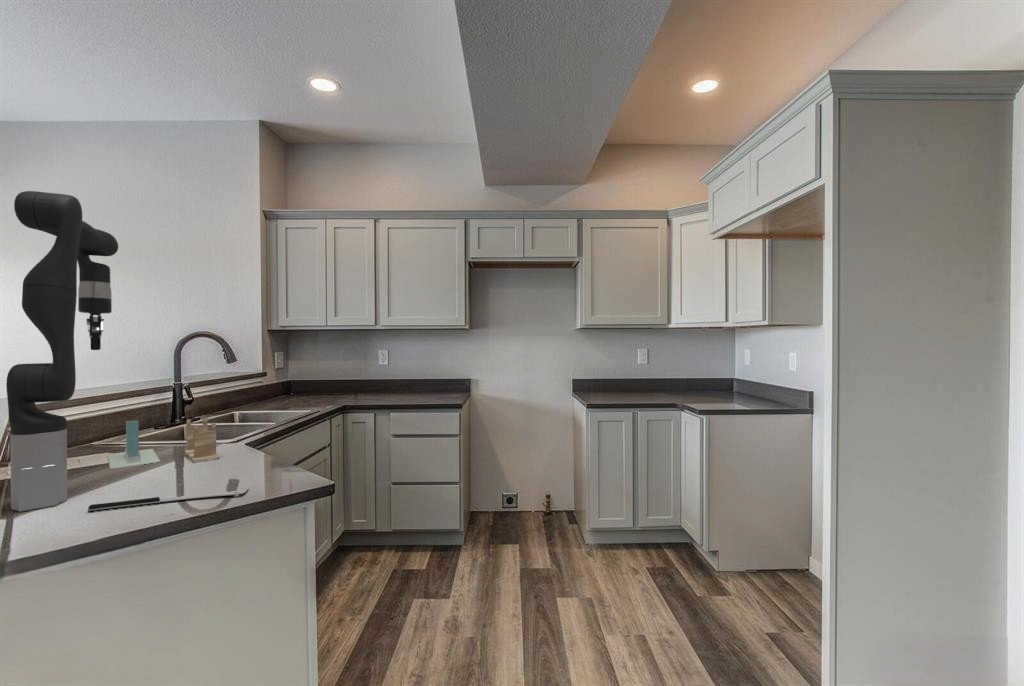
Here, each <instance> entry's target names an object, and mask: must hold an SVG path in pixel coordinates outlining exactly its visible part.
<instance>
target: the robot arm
mask: <svg viewBox="0 0 1024 686" xmlns="http://www.w3.org/2000/svg"><path fill="white" fill-rule="evenodd" d="M13 203H14V204H13V206H14V207H13V208H14V213H15V216H16V218H17V219H18V221H19V222H20V224H22V225H23V226H25V227H26V228H28V229H31V230H37V231H41V232H43V233H47V234H50V235H52V236H55V240H54V244H52V247H51V249H50V250H49V252H48V253H47V254H46V255H44V257H43V258H41V259H40V260H39V262H37V263H36V264H35V265H34V266H33V267H32V268H31V269H30V270H29V271H28V273H27V274H26V275H25V277H24V279H23V281H22V293H21V306H22V307H21V309H22V310H23V312H24V313H25V315H26V316H27V318H28V320H30V322H31V323H32V324H33V325H34V326H35V328H37V329H38V331H40V333H41V334H42V335H43V337H44V338H45V340H46V342H47V344H48V345H49V347H50V350H51V355H52V356H51V357H52V363H51V362H45V363H43V362H42V363H41V362H40V363H39V362H38V363H35V362H34V363H18V364H15V365H13V366H11V368H10V369H9V371H8V373H7V375H6V396H7V397H6V398H7V407H8V409H7V411H8V423H9V428H10V509H11V510H12V511H18V512H25V511H32V510H38V509H42V508H48V507H54V506H58V504H60V503H63V502H65V501H67V500H68V421H67V418H66V417H65V416H62V415H59V414H54V413H49V412H46V411H44V410H41V409H40V408H38V407H37V405H36V403H52V402H53V403H55V402H66V401H69V400H70V399H72V397H73V396H74V393H75V390H76V382H77V381H76V379H77V378H76V375H77V374H76V358H75V357H76V356H75V355H76V354H75V326H76V325H75V323H76V310H77V308H78V312H79V313H83V314H90V315H89V316H88V318H86V326H87V332H88V336H89V338H90V350H92V351H99V350H101V345H102V344H101V338H102V336H103V335H102V333H103V332H104V325H105V319H104V318H102V314H111V313H112V307H113V306H112V287H111V268H110V266H109V265H107V264H104V263H101V262H100V263H99V262H97V261H96V262H95V261H92V259H91V258H90V256H95V257H96V256H97V257H112V256H114V255H115V254H116V253H118V250H119V243H118V241H117V238H115V236H114V235H112V234H111V233H110V232H106V231H105V230H102V229H101V230H100V229H97V228H94V227H93V226H92V225H90V224H89V223H88V222H86V221H84V220H83V209H82V204H81V202H80V200H79V199H78V198H77V197H75V196H74V195H70V194H63V193H54V192H44V191H33V190H26V191H21V192H19V193H18V194H17V195H16V197H15V198H14V202H13ZM78 270H79V271H78ZM77 271H78V272H79V273H78V272H77ZM77 273H78V274H77ZM78 275H79V276H78ZM77 276H78V277H79V282H78V283H77V279H78V278H77ZM77 285H78V286H77ZM77 287H78V291H77ZM77 292H78V293H77ZM77 294H78V297H77ZM77 298H78V303H77ZM77 304H78V306H77Z"/></svg>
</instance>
